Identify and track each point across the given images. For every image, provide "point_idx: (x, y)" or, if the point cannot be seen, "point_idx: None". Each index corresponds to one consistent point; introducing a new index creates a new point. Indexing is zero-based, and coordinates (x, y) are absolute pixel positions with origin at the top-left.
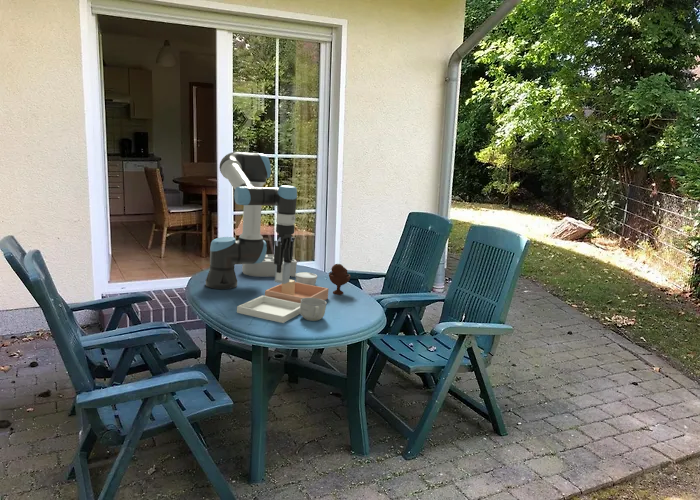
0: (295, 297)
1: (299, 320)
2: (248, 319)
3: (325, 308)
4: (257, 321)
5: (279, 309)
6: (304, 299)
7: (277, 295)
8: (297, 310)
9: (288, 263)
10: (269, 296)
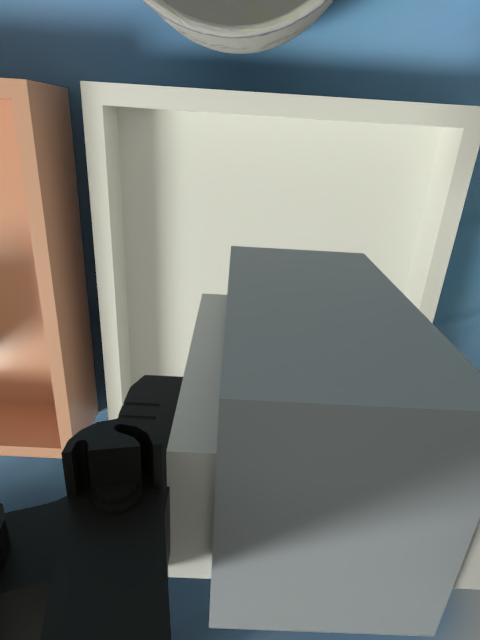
0: (47, 217)
1: (335, 24)
2: (460, 336)
3: None
4: (476, 278)
5: (200, 266)
6: (200, 20)
7: (71, 363)
8: (245, 92)
9: (270, 437)
10: (84, 406)
